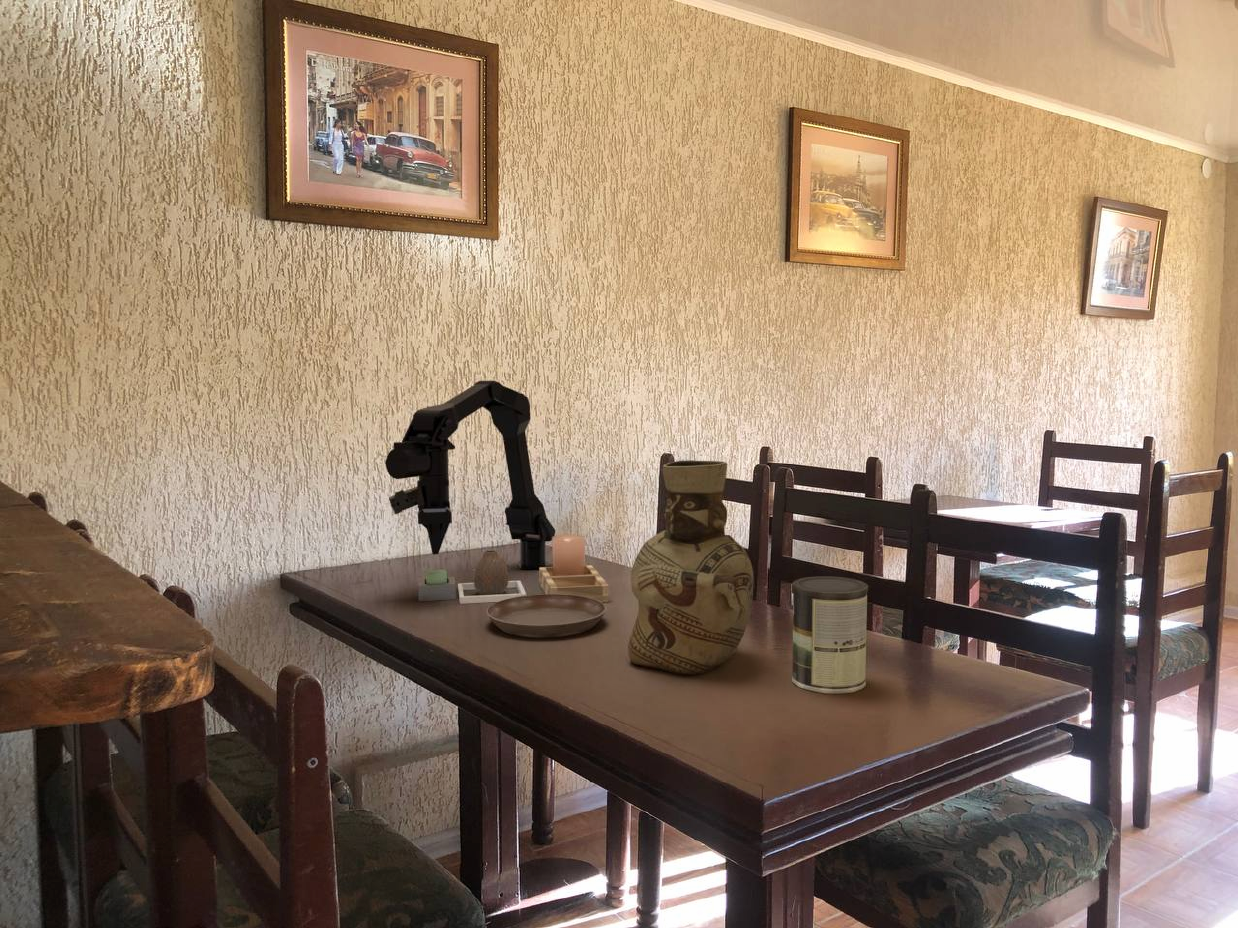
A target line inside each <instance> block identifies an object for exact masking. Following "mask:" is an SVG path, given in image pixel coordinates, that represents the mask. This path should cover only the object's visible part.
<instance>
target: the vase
mask: <svg viewBox="0 0 1238 928" xmlns="http://www.w3.org/2000/svg"><path fill="white" fill-rule="evenodd" d="M509 575H510V574H509V570H508V567H507V565H506V563H505V561H504V560H503V559H502V558H501V557H500V555H499V553H498V551H497V550H495V549H487V550H484V552H483V553H482V556H481V557H480V558H479V560H478V561H477V563H476V565H475V566H474V570H473V576H472V577H473V579H472V581H473V583H474V586H475V588H476V589H475V590H476V592H477V593H478V594H479V596H482V595H502V594H504V592H505V591H506V590H507V589H508V588H507V585H508V581H510V577H509Z"/></svg>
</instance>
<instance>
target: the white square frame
mask: <svg viewBox="0 0 1238 928" xmlns="http://www.w3.org/2000/svg"><path fill="white" fill-rule="evenodd" d="M511 588H513V589H514V588H516V589H517V592H518V593H510V594H509V593H507V594H506V593H505V594H504V593H503V594H502V595H482V596H481V595H464V591H467V590H468V591H469V590H476V588H475V586H474V582H463V583H460V582H459V583H457V593H458V600H459V604H460V605H462V604H463V605H464V604H465V605H466V604H479V603H481V604H482V603H496V602H499V601H502V600H505V599H509V598H514V597H519V596H526V595H527V593H526V590H525V588H524V586H523V584H522V581H521V580H509V581H508V585H507V588H506V589H511Z"/></svg>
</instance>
